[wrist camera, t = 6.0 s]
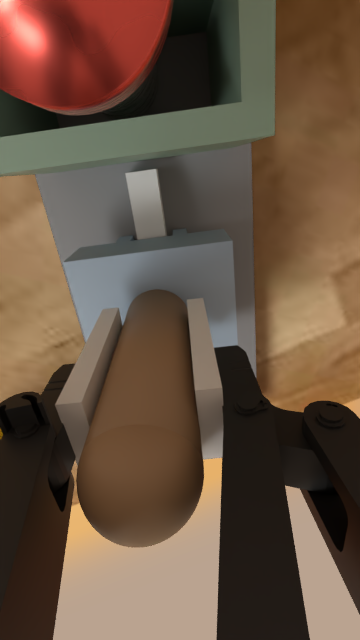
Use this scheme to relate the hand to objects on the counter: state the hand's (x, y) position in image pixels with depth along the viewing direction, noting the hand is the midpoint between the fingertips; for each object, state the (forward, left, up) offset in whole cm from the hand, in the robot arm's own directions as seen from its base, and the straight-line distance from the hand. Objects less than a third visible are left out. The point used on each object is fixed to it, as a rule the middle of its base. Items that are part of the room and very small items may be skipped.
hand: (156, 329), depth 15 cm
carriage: (0, 0, -6) cm, 6 cm away
